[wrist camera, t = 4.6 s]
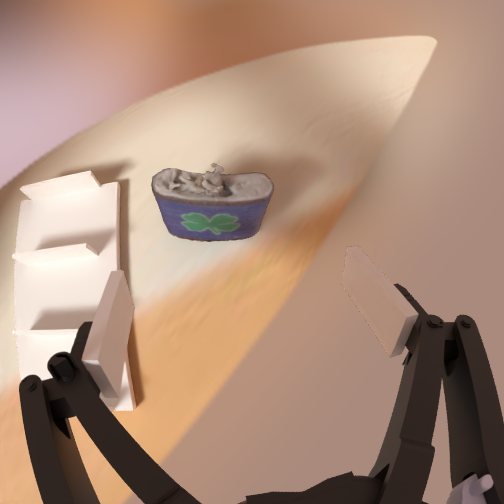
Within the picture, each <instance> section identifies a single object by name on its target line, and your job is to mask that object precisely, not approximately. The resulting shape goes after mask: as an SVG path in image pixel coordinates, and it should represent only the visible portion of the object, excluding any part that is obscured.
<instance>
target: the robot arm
mask: <svg viewBox="0 0 504 504" xmlns="http://www.w3.org/2000/svg"><path fill="white" fill-rule="evenodd" d="M341 284H342V286H343V287H344V288H345V290H346V292H347V293H348V295H349V296H350V298H351V299H352V301H353V302H354V303H355V305H356V307H357V308H358V309H359V311H360V312H361V314H362V315H363V317H364V318H365V320H366V322H367V323H368V325H369V326H370V327H371V329H372V331H373V332H374V333H375V335H376V337H377V338H378V340H379V341H380V343H381V345H382V346H383V347H384V349H385V351H386V352H387V354H388V356H389V357H394V356H396V355H400V354H402V352H403V350H404V348H405V346H406V347H407V349H408V350H409V352H408V354H407V356H406V358H405V360H404V362H403V365H404V364H405V366H404V371H403V375H402V379H401V384H400V388H399V391H398V395H397V399H396V402H395V406H394V409H393V413H392V417H391V420H390V423H389V426H388V430H387V432H386V436H385V438H384V442H383V444H382V447H381V450H380V453H379V456H378V459H377V461H376V463H375V465H374V467H373V469H372V470H371V472H370V474H369V476H354V475H353V473H352V471H351V472H349V473H346V474H342V475H339V476H336V477H332V478H329V479H327V480H325V481H323V482H321V483H319V484H317V485H315V486H314V487H311V488H310V489H308V490H306V491H303V492H269V493H263V494H257V495H250V496H246V500H247V501H243V502H240V503H238V504H428V503H426V502H423V501H422V497H423V494H424V491H425V488H426V484H427V480H428V477H429V474H430V470H431V466H432V462H433V457H434V452H435V448H434V447H433V446H432V445H431V442H432V437H433V432H434V427H435V422H436V416H437V409H438V404H439V397H440V389H441V380H443V387H444V393H445V401H446V410H447V420H448V431H449V447H450V472H451V482H452V488H453V490H452V492H451V493H450V497H449V498H448V500H447V503H446V504H504V422H503V417H502V412H501V407H500V403H499V399H498V394H497V391H496V386H495V382H494V378H493V375H492V371H491V368H490V364H489V361H488V358H487V354H486V351H485V348H484V345H483V342H482V339H481V336H480V334H479V331H478V328H477V326H476V323H475V321H474V320H473V319H472V318H471V317H469V316H467V315H459V316H457V318H456V320H455V322H444V321H443V320H442V319H441V318H439V317H438V316H435V315H428V314H427V313H426V312H425V310H424V309H423V308H422V307H421V306H420V305H419V303H418V302H417V301H416V300H414V298H413V297H412V295H410V293H409V292H408V291H407V290H406V289H405V288H404V287H402V286H401V285H399V284H392V282H391V281H390V280H389V279H388V278H387V277H386V276H385V274H383V272H382V271H381V270H380V269H379V268H378V267H377V266H376V265H375V263H374V262H373V261H372V260H371V259H370V258H369V257H368V256H367V255H366V254H365V253H364V251H363V250H362V249H361V248H360V247H359V246H350V247H347V251H346V258H345V264H344V270H343V276H342V282H341ZM133 313H134V304H133V301H132V298H131V295H130V291H129V288H128V284H127V281H126V277H125V274H124V270H117V271H111V273H110V275H109V278H108V281H107V283H106V286H105V289H104V291H103V294H102V297H101V300H100V303H99V306H98V308H97V311H96V314H95V317H94V320H93V321H88V322H84V323H83V324H82V325H81V326H80V327H79V329H78V331H77V334H76V338H75V340H74V344H73V346H72V349H71V352H70V353H68V352H65V351H64V352H58V353H56V354H54V355H53V356H52V357H51V358H50V359H49V361H48V364H47V368H48V371H49V372H50V374H51V375H52V377H53V378H50V379H46V380H41V379H40V377H38V376H37V375H34V374H32V375H28V376H26V377H25V378H24V379H23V380H22V381H21V383H20V385H19V393H20V402H21V410H22V417H23V424H24V430H25V435H26V440H27V445H28V450H29V454H30V459H31V463H32V467H33V471H34V474H35V478H36V481H37V485H38V488H39V491H40V495H41V498H42V501H43V504H100V502H99V500H98V498H97V495H96V493H95V491H94V489H93V486H92V484H91V482H90V479H89V477H88V474H87V472H86V469H85V467H84V464H83V462H82V459H81V456H80V454H79V451H78V448H77V445H76V442H75V439H74V436H73V433H72V429H71V426H70V423H69V419H68V418H71V417H75V416H76V417H77V418H78V420H79V421H80V423H81V424H82V426H83V427H84V429H85V430H86V432H87V433H88V435H89V436H90V438H91V439H92V440H93V442H94V443H95V445H96V446H97V447H98V449H99V450H100V452H101V453H102V454H103V456H104V457H105V458H106V459H107V461H108V462H109V463H110V465H111V466H112V467H113V468H114V470H115V471H116V472H117V473H118V474H119V476H120V477H121V478H122V479H123V480H124V482H125V483H126V484H127V485H128V486H129V487H130V488H131V490H132V491H133V492H134V493H135V494H136V495H137V496H138V497H139V498H140V499H141V500H142V501H143V503H145V504H201V503H200V502H199V501H198V500H196V499H195V498H194V497H193V496H192V495H191V494H189V493H188V492H187V491H186V490H185V489H183V488H182V487H181V486H180V485H179V484H177V483H176V482H175V481H174V480H173V479H172V478H171V477H170V476H169V475H168V474H167V473H166V472H165V471H164V470H163V469H162V468H161V467H160V466H159V465H158V464H157V463H156V462H155V461H154V460H153V459H152V458H151V457H150V456H149V455H148V454H147V453H146V452H145V451H144V450H143V449H142V448H141V447H140V445H139V444H138V443H137V442H136V441H135V440H134V439H133V438H132V436H131V435H130V434H129V433H128V432H127V431H126V430H125V428H124V427H123V426H122V425H121V424H120V422H119V421H118V420H117V419H116V417H115V416H114V415H113V414H112V412H111V411H110V410H109V409H108V407H107V406H106V405H105V403H104V402H103V401H102V400H101V398H100V391H101V393H102V395H103V396H104V398H120V391H121V384H122V376H123V370H124V363H125V357H126V351H127V345H128V339H129V334H130V328H131V323H132V318H133Z"/></svg>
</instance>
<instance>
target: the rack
mask: <svg viewBox="0 0 504 504" xmlns="http://www.w3.org/2000/svg"><path fill="white" fill-rule="evenodd" d="M20 190H21V191H22V192H23V193H24V194H25V195H27V196H28V197H29V198H30V199H27V200H23V201H21V205H20V212H19V220H18V228H17V238H16V250H15V254H12V258H13V259H15V268H14V314H15V330H12V332H13V335H16V344H17V354H18V362H19V370H20V376H21V381H22V380H23V379H24V378H25V377H26V376H28V375H32V374H34V375H37V376H38V377H40V379H41V380H46V379H50V378H53V377H52V375H51V374H50V372H49V371H48V368H47V364H48V361H49V359H50V358H51V357H52V356H53V355H54V354H56V353H58V352H64V351H65V352H68V353H70V352H71V349H72V346H73V344H74V340H75V338H76V334H77V331H78V329H79V327H80V326H81V325H82V324H83V323H84V322H88V321H93V320H94V317H95V314H96V311H97V308H98V306H99V303H100V300H101V297H102V294H103V291H104V289H105V286H106V283H107V281H108V278H109V275H110V273H111V271H117V270H121V268H120V191H121V187H120V185H119V183H118V182H112V183H106V184H100V183H99V182H98V180H97V179H96V177H95V176H94V174H93V173H92V171H86V172H81V173H76V174H72V175H67V176H62V177H58V178H54V179H49V180H45V181H41V182H37V183H33V184H29V185H25V186H21V189H20ZM100 398H101V400H102V401H103V402H104V403H105V405H106V406H107V407H108V409H109V410H110V411H111V412H112V411H114V410H134V409H136V408H137V407H136V401H135V396H134V390H133V385H132V379H131V372H130V366H129V358H128V351H126V357H125V363H124V370H123V376H122V384H121V391H120V398H104V396H103V395H102V393H101V391H100ZM75 417H76V416H75Z"/></svg>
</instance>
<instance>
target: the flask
mask: <svg viewBox="0 0 504 504" xmlns="http://www.w3.org/2000/svg"><path fill="white" fill-rule="evenodd" d="M211 166H212V167H214V168H215V170H214V171H213V172H212V173H211V172H209V171H206V173H205V174H200V173H191V172H186V171H182V170H179V169H171V168H167V169H164V170H162V171H161V172H159V173H157V174H156V175H155V176H153V178H152V184H151V186H152V191H153V194H154V196H155V199H156V201H157V203H158V206H159V209H160V211H161V215H162V217H163V221H164V223H165V225H166V227H167V229H168V231H169V233H170V234H172V235H173V236H176V237H178V238H181V239H182V238H183V239H189V240H193V241H194V240H196V241H202V242H203V241H207V242H209V241H210V242H211V241H229V240H238V239H240V240H241V239H246V238H250V237H252V236H253V235H255V234H256V233H257V232H258V230H259V227H260V224H261V221H262V219H263V216H264V214H265V211H266V208H267V205H268V203H269V201H270V198H271V196H272V193H273V189H274V185H273V183H272V181H271V180H270V178H268V176H267V175H266V174H262V173H247V174H233V175H231V174H227V175H225V174H220V173H221V172H223V171H224V169H223V168H222V167H221V166H218V165H216V164H215V163H213V164H211Z"/></svg>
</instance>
